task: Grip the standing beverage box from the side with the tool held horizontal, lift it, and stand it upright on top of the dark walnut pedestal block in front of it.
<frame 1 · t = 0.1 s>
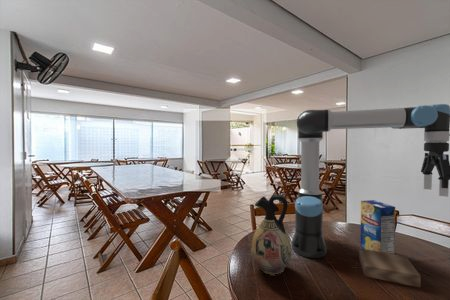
hand: (434, 192, 91), 28 cm above the table, tool pointing down, fingers open, 13 cm apart
beverage box: (376, 252, 96), on the table
ceramic jug: (272, 270, 84), on the table
walnut pedestal block: (385, 270, 83), on the table
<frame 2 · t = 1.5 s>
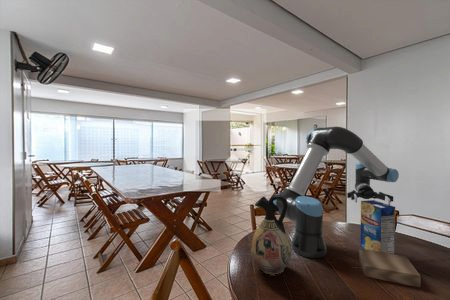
hand: (372, 201, 106), 20 cm above the table, tool horizontal, fingers open, 13 cm apart
nothing on the table moved.
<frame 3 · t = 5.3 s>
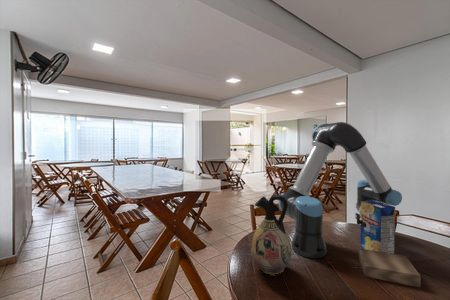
hand: (379, 230, 91), 12 cm above the table, tool horizontal, fingers open, 7 cm apart
beverage box: (376, 252, 96), on the table, touching gripper
everything else where it was.
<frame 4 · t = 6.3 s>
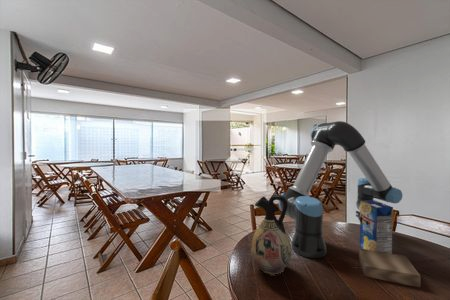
hand: (380, 227, 91), 13 cm above the table, tool horizontal, fingers open, 5 cm apart
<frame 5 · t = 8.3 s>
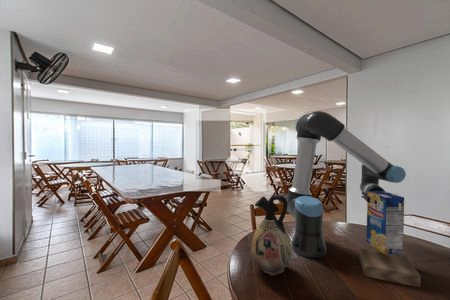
hand: (390, 206, 82), 25 cm above the table, tool horizontal, fingers closed on beverage box, 5 cm apart
beverage box: (383, 248, 88), point 6 cm above the table, touching gripper
everything else where it was.
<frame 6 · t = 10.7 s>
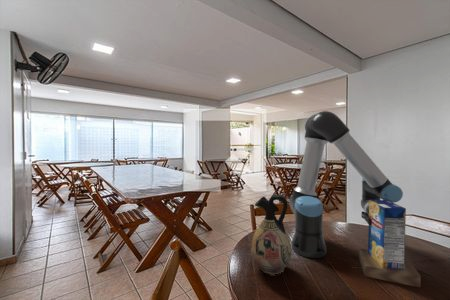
hand: (391, 231, 77), 18 cm above the table, tool horizontal, fingers open, 3 cm apart
beverage box: (384, 261, 82), point 4 cm above the table, touching gripper, walnut pedestal block
everything else where it was.
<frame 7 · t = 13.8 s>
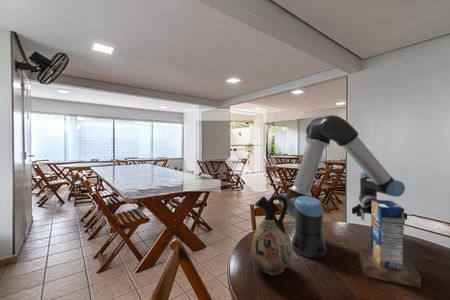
hand: (382, 219, 88), 18 cm above the table, tool horizontal, fingers open, 13 cm apart
beverage box: (385, 261, 82), point 4 cm above the table, touching walnut pedestal block
everything else where it was.
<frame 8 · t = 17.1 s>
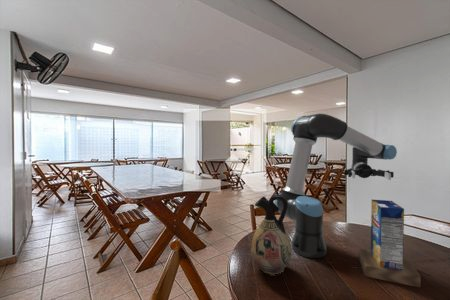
hand: (371, 175, 98), 34 cm above the table, tool horizontal, fingers open, 13 cm apart
nothing on the table moved.
at the end: beverage box inside the target area on the walnut pedestal block (0.3 cm from its centre), point 3.8 cm above the walnut pedestal block's base; beverage box tilted 0°; beverage box touching walnut pedestal block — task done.
